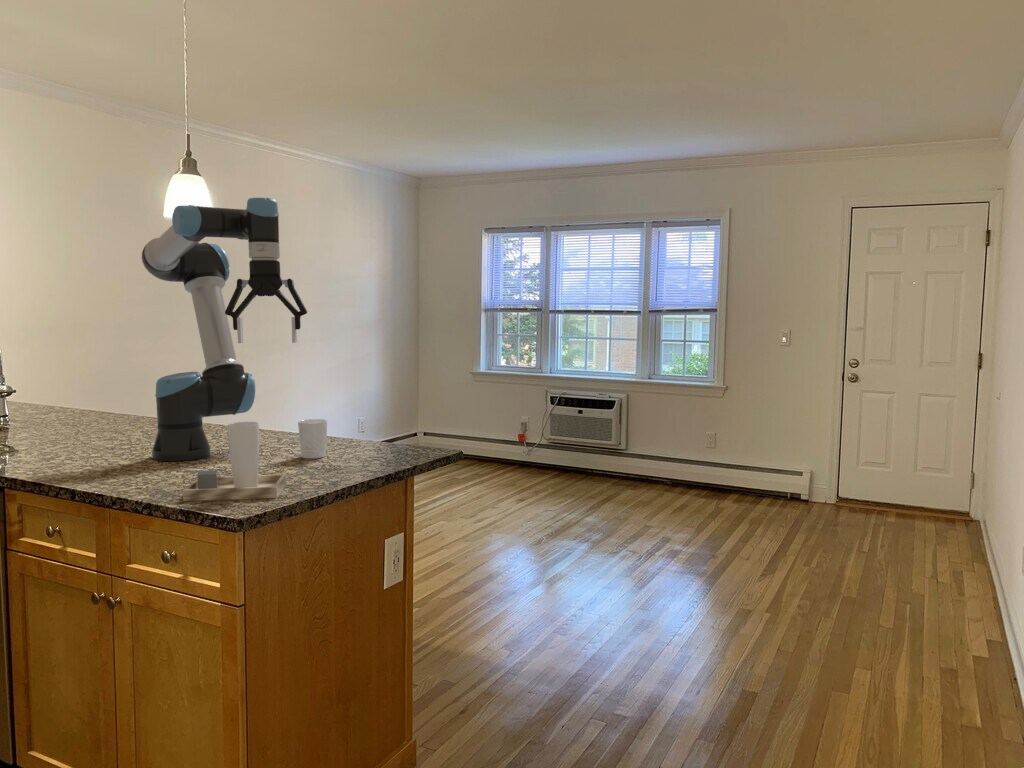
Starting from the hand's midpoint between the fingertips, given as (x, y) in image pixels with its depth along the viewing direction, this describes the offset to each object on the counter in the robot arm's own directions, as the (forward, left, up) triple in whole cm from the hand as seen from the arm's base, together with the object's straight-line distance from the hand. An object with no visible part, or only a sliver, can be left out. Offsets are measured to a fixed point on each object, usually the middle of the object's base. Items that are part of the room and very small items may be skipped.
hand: (267, 342), depth 206 cm
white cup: (+9, +13, -33) cm, 37 cm away
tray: (-3, -27, -33) cm, 43 cm away
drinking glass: (-1, -27, -32) cm, 42 cm away
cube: (-9, -27, -32) cm, 43 cm away
